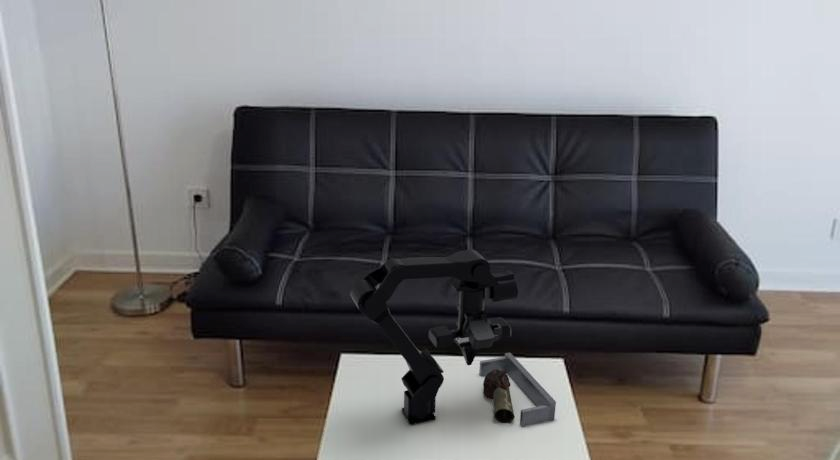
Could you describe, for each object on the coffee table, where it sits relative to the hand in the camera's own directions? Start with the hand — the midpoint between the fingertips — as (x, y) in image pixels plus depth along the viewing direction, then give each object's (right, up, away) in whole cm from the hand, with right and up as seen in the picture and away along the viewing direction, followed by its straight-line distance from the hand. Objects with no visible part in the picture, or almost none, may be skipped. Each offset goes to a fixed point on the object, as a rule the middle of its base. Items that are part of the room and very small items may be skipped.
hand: (468, 364), depth 184 cm
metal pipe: (+7, -11, +6) cm, 14 cm away
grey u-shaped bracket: (+12, -9, +8) cm, 17 cm away
